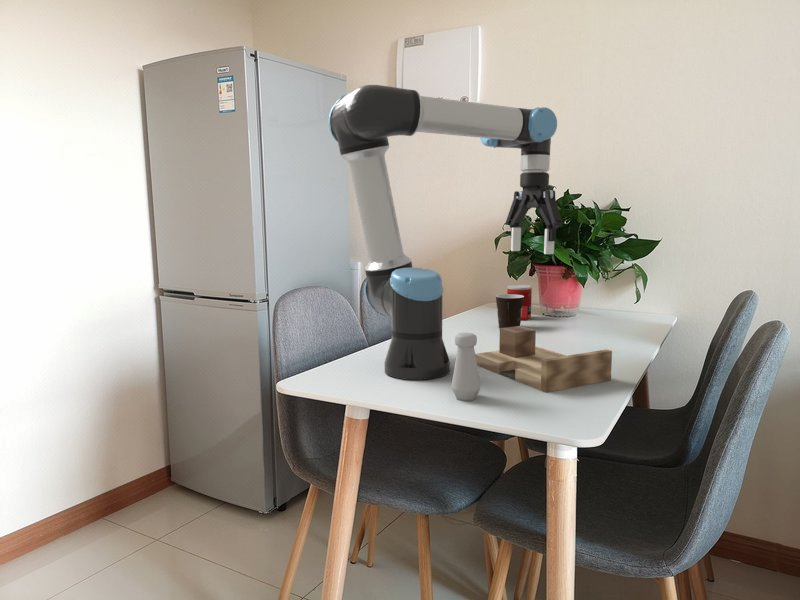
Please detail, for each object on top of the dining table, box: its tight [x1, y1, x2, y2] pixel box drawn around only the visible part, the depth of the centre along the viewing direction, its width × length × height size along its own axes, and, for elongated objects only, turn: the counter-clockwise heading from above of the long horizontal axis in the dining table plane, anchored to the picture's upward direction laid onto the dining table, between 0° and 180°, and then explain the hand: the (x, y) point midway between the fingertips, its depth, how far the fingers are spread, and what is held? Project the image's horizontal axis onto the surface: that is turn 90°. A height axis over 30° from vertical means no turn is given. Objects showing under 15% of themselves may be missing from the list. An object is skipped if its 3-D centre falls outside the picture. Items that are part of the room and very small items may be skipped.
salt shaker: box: [450, 332, 482, 402], centre depth 120 cm, size 6×6×13 cm
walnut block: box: [498, 325, 537, 358], centre depth 145 cm, size 6×6×6 cm
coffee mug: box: [495, 293, 524, 329], centre depth 188 cm, size 12×9×10 cm
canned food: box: [506, 284, 533, 321], centre depth 204 cm, size 8×8×11 cm
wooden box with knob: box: [475, 345, 613, 393], centre depth 138 cm, size 18×26×6 cm
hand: (531, 252), depth 164 cm, fingers open, 13 cm apart
